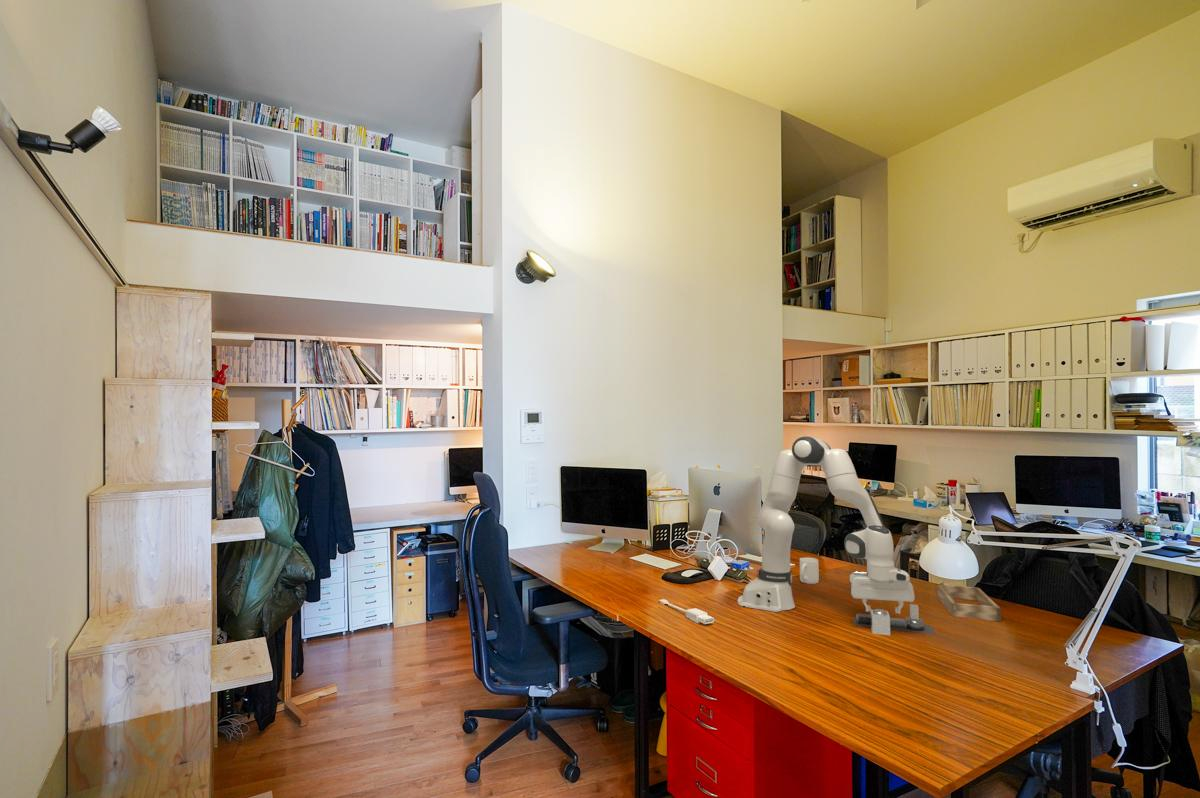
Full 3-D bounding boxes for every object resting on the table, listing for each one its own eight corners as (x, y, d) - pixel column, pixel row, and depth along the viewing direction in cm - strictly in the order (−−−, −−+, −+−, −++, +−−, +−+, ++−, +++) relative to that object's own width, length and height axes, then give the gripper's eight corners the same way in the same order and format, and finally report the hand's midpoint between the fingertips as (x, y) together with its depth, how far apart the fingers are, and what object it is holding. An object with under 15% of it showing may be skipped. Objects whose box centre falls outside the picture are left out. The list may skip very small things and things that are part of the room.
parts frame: (953, 616, 217) (953, 603, 217) (937, 596, 244) (936, 584, 244) (1001, 621, 212) (1000, 607, 212) (979, 599, 238) (978, 587, 238)
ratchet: (857, 624, 207) (857, 602, 208) (856, 619, 213) (855, 597, 213) (925, 631, 200) (925, 608, 200) (922, 626, 206) (921, 603, 206)
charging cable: (664, 603, 237) (664, 595, 237) (714, 624, 209) (714, 615, 209) (654, 605, 235) (654, 597, 235) (704, 626, 206) (703, 617, 207)
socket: (872, 634, 199) (872, 612, 199) (870, 629, 204) (870, 607, 204) (890, 636, 197) (889, 614, 197) (888, 631, 202) (887, 609, 202)
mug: (810, 586, 258) (809, 563, 258) (793, 583, 264) (792, 560, 264) (821, 581, 266) (821, 559, 267) (805, 578, 272) (804, 556, 272)
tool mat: (854, 626, 207) (854, 625, 207) (852, 618, 215) (852, 617, 215) (936, 635, 198) (936, 633, 198) (930, 626, 206) (930, 625, 206)
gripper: (850, 573, 202) (851, 612, 201) (914, 576, 196) (916, 617, 195) (848, 569, 208) (850, 607, 207) (910, 572, 202) (912, 611, 201)
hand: (882, 612), depth 201 cm, fingers open, 8 cm apart
